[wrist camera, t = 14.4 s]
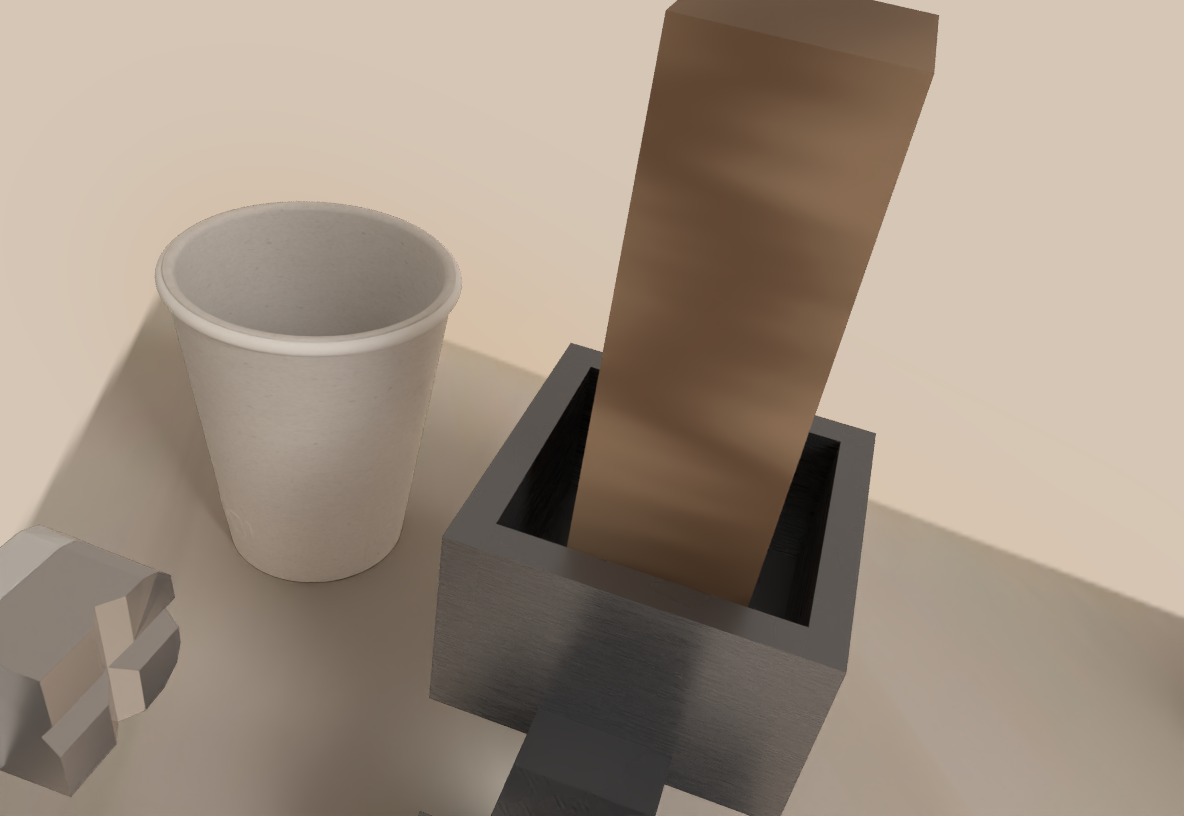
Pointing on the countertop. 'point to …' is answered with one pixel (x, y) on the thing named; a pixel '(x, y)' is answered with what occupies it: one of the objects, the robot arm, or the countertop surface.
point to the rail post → (741, 272)
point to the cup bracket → (643, 630)
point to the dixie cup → (310, 373)
